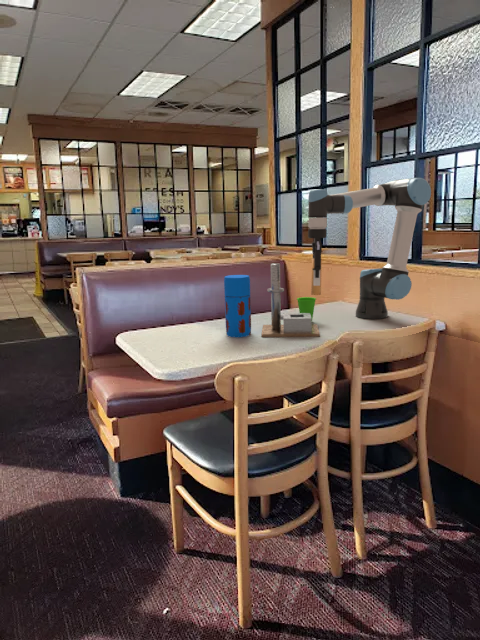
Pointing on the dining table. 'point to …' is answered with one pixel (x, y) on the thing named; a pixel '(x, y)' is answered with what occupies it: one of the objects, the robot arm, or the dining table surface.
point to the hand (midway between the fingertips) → (316, 284)
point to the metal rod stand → (286, 315)
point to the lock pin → (314, 289)
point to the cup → (306, 305)
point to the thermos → (237, 305)
